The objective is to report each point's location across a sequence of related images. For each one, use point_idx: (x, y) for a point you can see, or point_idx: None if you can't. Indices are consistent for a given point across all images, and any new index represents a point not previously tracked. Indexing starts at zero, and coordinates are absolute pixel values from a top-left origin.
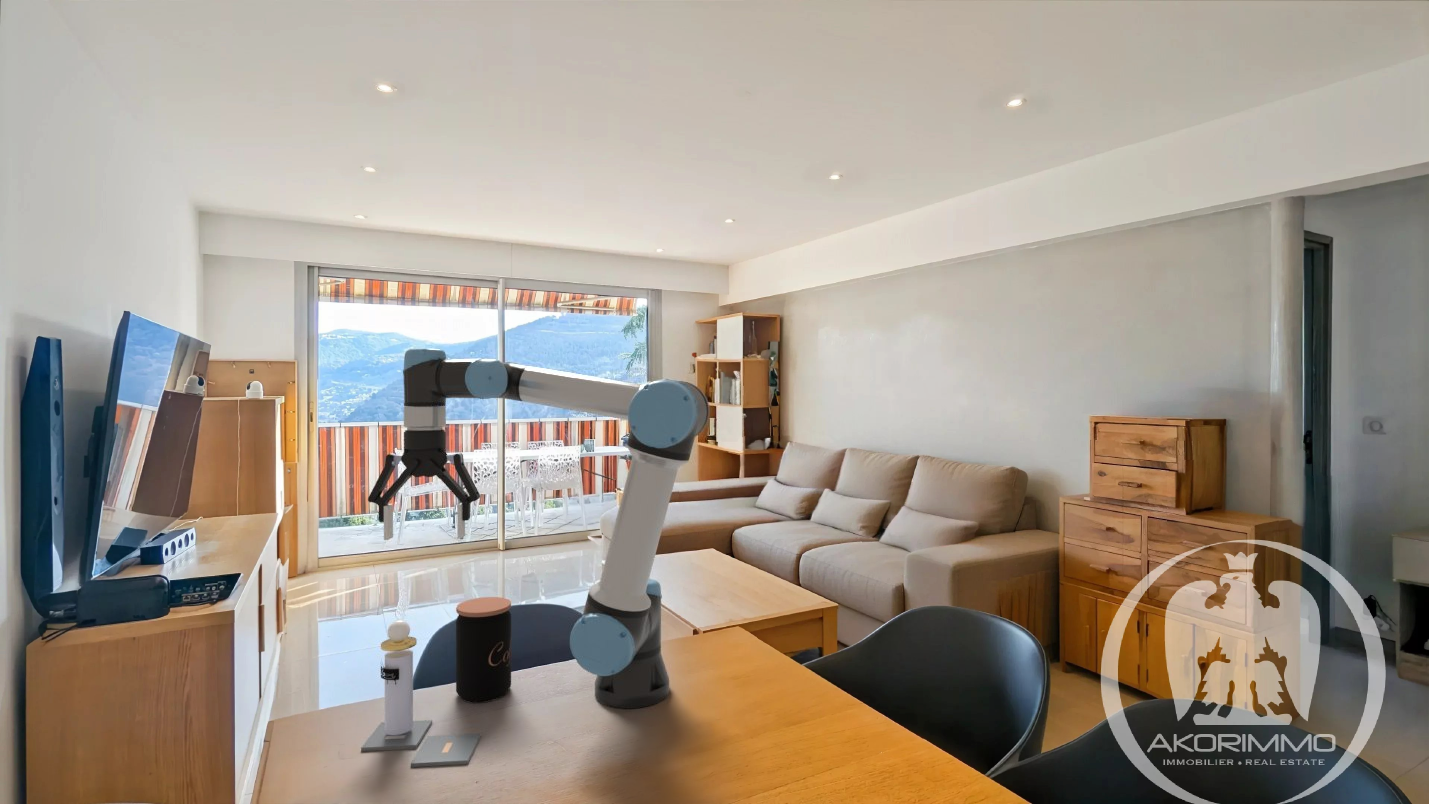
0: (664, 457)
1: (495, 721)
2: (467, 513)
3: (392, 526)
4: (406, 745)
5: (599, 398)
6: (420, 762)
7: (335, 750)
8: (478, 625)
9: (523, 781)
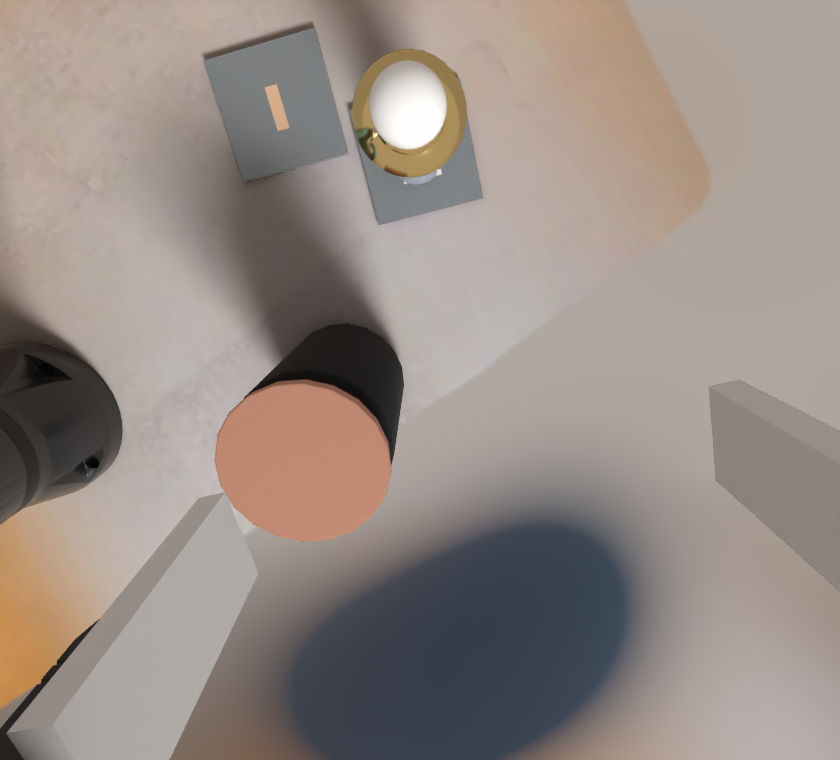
0: None
1: (253, 253)
2: (51, 673)
3: (767, 517)
4: None
5: None
6: (296, 35)
7: (516, 76)
8: (284, 373)
9: (57, 11)
